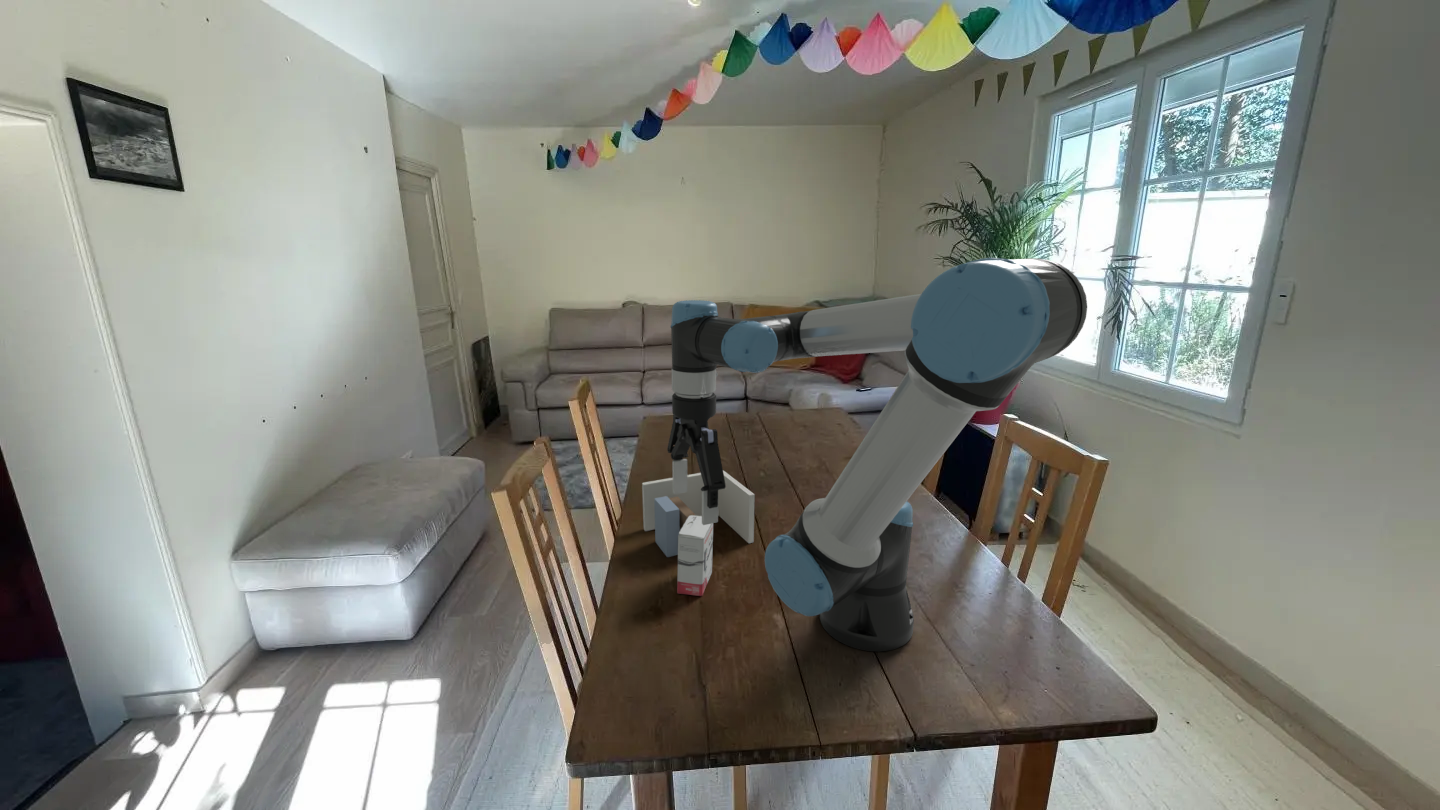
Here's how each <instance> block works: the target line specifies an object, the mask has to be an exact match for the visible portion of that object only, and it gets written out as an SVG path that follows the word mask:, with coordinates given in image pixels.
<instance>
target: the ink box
mask: <svg viewBox="0 0 1440 810" xmlns="http://www.w3.org/2000/svg"><path fill="white" fill-rule="evenodd" d="M713 542H714V523H712V524H707V525H703V524H702V516H696V515H690V516H688V518H687V520H686V522H685V523H684V525H683V527H682V528H681V530H680V531H679V535H678V555H677V578H676V579H677V580H676V581H677V584H676V585H677V589H676V591H677V592H676V593H677V594H678V595H679V594H681V595H690V596H696V597H697V596H698V597H703V595H704V593H705V589H706V587H707V585H708V583H709V580H710V578H711V575H712V573H713V547H714V546H713V544H714V543H713Z"/></svg>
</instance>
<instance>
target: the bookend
mask: <svg viewBox="0 0 1440 810" xmlns="http://www.w3.org/2000/svg"><path fill="white" fill-rule="evenodd" d="M669 499H670V500H671V501H672V502H673V503H674V504H675V505H676V506H677V507H678V508H679V521H680V530H681V528H682V527H683V525H684V523H685V522H686V520H687V518H688V516H690V515H695V513H694V512H693V511H692V510H691V509H690V508H689V507H688V506H687V505H686V504H685V503H684V502H683V501H682V500H681V499H680V498H679V497H678V496H677V497H672V498H669Z"/></svg>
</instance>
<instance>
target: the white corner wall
mask: <svg viewBox="0 0 1440 810" xmlns="http://www.w3.org/2000/svg"><path fill="white" fill-rule="evenodd" d="M723 474H724V479H725V485H726V487H725V489H720V490H718V517H720V518H721V520H723V521H724V522H725V523H726V524H727V525H728V526H729V527H730V528H732V530H733V531H735V532H736V533H737V534H738V535H739V536H740V537H741V538H742V539H743V540H744V541H745V542H746V543H748V544H751V543H752V544H753V543H754V541H755V540H754V539H755V537H754V536H755V499H756V498H755V495H756V494H755V493H753V492H752V491H751V490H750V489H748V488H747V487H746V486H745V485H743V484H742V483H741V482H739V481H738V480H737V479H736V478H734V477H733V476H731V475H730V474H729V473H728V472H726V471H725V470H723ZM641 485H642V486H641V489H642V490H641V492H642V517H643V519H642V521H643V522H642V523H643V530H644V532H649V531H653V530H655V531H654V534H655V535H654V536H655V537H654V539H655V543H656V545H657V546H658V547H659V549H660V550H661V551H662V552H663V554H664V556H666V558H670V557H674V556H678V535H679V531H680V521H679V508H678V507H677V506H676V505H675V504H674V503H673V502H672V501H671V500H670V499H669V498H672V497H677V496H678V497H679V498H680V499H681V500H682V501H683V502H684V503H685V504H686V505H687V506H688V507H689V508H690V509H691V510H692V511H693V512H694V513H695V515H696V516H702V491H701V488H702V487H704V483H703V480H702V476H701V472H697V473H692V474H687V492H684V493H679V494H673V477H668V478H663V479H657V480H650V481H645V482H642V483H641Z"/></svg>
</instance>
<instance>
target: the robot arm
mask: <svg viewBox="0 0 1440 810" xmlns="http://www.w3.org/2000/svg"><path fill="white" fill-rule="evenodd" d="M1087 314H1088V301H1087V295H1086V293H1085V289H1084V286H1083V285H1082V283H1081V282H1080V280H1079V279H1078V277H1077V276H1076V275H1075V274H1074V273H1073V272H1072V271H1071V270H1070V269H1068V268H1067V267H1065V266H1064V265H1062V264H1060V263H1057V262H1055V261H1053V260H1050V259H1046V258H1045V259H1044V258H1035V257H1032V258H1030V257H1028V258H1015V259H1014V258H1013V259H1008V258H1002V257H985V258H983V257H982V258H979V259H974V260H970V261H967V262H965V263H961V264H958V265H955V266H952V267H951V268H949V269H947V270H945V271H943V272H942V273H940V274H939V275H937V276H936V277H935V278H934V279H932V280H931V282H930V283H929V284H928V285H927V286H926V287H925V288H924V289H923V291H922V293H920V294H919V293H918V294H912V295H911V294H910V295H906V296H905V295H904V296H898V297H892V298H885V299H878V300H870V301H866V302H865V301H864V302H859V303H858V302H857V303H852V304H851V303H850V304H846V305H845V304H844V305H837V306H832V307H826V308H818V309H812V310H807V311H805V310H804V311H798V312H791V313H782V314H777V315H766V316H757V317H749V318H748V317H747V318H729V317H721V316H719V313H718V305H717V303H715V302H714V301H710V300H704V299H703V300H701V299H699V300H697V299H696V300H695V299H694V300H693V299H691V300H690V299H687V300H679V301H676V302H675V303H674V304H673V305H672V309H671V324H670V333H671V334H670V335H671V336H670V337H671V365H672V366H671V390H672V392H673V394H672V395H671V401H672V402H671V403H672V404H671V408H672V409H671V410H672V411H671V412H672V418H673V419H672V424H671V430H670V435H669V439H668V445H667V449H666V451H667V453H668V454H670V457H671V460H672V467H671V468H672V478H673V494H679V493H684V492H687V475H688V459H687V458H689V454H688V451H689V449H691V452H692V454H694V455H695V458H696V460H697V461H696V462H697V464H698V467H699V473H701V476H702V480H703V483H704V487H702V488H701V491H702V524H703V525H707V524H712V523H713V524H714V523H715V524H716V523H718V522H719V516H718V490H720V489H725V487H726V485H725V479H724V474H723V464H722V458H721V454H720V448H719V440H718V437H719V436H718V430H717V429H716V428H714V429H710V428H709V427H710V426H709V422H708V421H709V420H710V418H712V417H713V418H714V416H715V415H716V414H717V395H716V393H715V392H716V391H717V377H719V373H718V372H717V367H718V366H721V367H725V368H728V369H733V370H735V371H738V372H740V373H741V372H742V373H746V372H747V373H755V374H758V373H763V372H764V371H766V370H767V369H768V367H770V366H772V364H773V363H777V362H779V361H785V360H794V359H805V358H806V359H807V358H815V357H825V356H826V357H827V356H828V357H829V356H842V355H856V354H857V355H858V354H869V353H870V354H873V353H887V352H899V351H900V352H903V351H904V358H905V361H906V365H907V368H908V370H907V372H906V373H905V375H904V377H903V378H902V379H901V381H900V383H899V384H898V385H897V387H896V388H895V390H894V392H893V393H892V395H891V396H890V398H889V399H888V401H887V403H886V404H885V406H884V408H883V409H882V410H881V412H880V413H879V415H878V416H877V418H876V419H875V420H874V423H873V424H872V425H871V427H870V429H869V430H868V431H867V433H866V435H865V436H864V437H863V440H862V441H861V443H860V444H859V445H858V447H857V448H856V450H855V451H854V453H853V455H852V457H851V458H850V459H849V461H848V462H847V464H846V465H845V467H844V469H843V470H842V472H841V473H840V475H839V477H838V478H837V480H835V482H834V484H833V485H832V487H831V489H830V490H829V492H828V494H826V496H825V497H822V498H818V499H814V500H812V501H811V502H809V504H808V505H806V507H805V508H804V510H803V511H802V513H800V516H799V517H798V519H797V521H796V522H795V523H794V525H793V527H792V528H791V529H790V530H789V531H787V532H786V533H784V534H779V535H777V536H776V537H775V539H773V540H772V541H770V542H769V544H768V545H767V547H766V549H765V553H764V566H765V572H766V574H767V578H768V581H769V583H770V586H771V587H772V589H773V590H774V592H775V593H776V595H777V596H778V597H779V599H780V600H781V601H782V602H783V603H784V604H785V605H786V607H788V608H789V609H791V610H792V611H793V612H795V613H796V614H801V615H803V616H805V617H815V616H818V615H819V619H820V623H821V626H822V628H823V629H824V630H825V632H826V633H827V634H829V636H831V637H832V638H833V639H834V640H836V641H837V642H839V643H841V644H844V645H845V646H848V647H851V648H853V649H857V650H861V651H867V652H887V651H892V650H896V649H899V648H901V647H903V646H905V645H906V644H907V643H908V642H910V641H911V638H912V636H913V632H914V624H915V617H914V613H913V610H912V605H911V600H910V597H909V593H908V590H907V579H908V571H909V559H910V549H911V542H912V532H913V527H914V522H913V506H912V504H911V503H910V502H909V501H908V500H909V499H910V498H911V496H912V495H913V494H914V493H915V491H916V490H917V488H918V487H919V486H920V484H921V483H922V482H923V481H924V479H925V478H926V477H927V476H928V475H929V473H930V471H932V469H933V468H934V466H935V465H936V464H937V462H938V461H939V460H940V459H941V458H942V456H943V455H944V453H945V452H946V451H947V450H948V449H949V447H950V446H951V445H952V444H953V442H954V441H955V439H956V438H957V437H958V435H960V433H961V432H962V430H963V429H964V428H965V426H966V425H967V424H968V423H969V422H970V421H971V419H972V418H973V416H974V415H975V414H976V412H982V411H992V410H996V409H997V408H998V407H1000V406H1001V404H1002V403H1003V402H1004V401H1005V399H1007V397H1009V395H1010V393H1011V392H1012V391H1013V390H1014V389H1015V387H1016V386H1017V385H1018V384H1019V382H1020V381H1021V380H1022V378H1023V377H1024V376H1025V375H1026V374H1027V372H1028V371H1029V370H1030V369H1031V368H1032V366H1034V364H1037V363H1039V362H1042V361H1045V360H1048V359H1049V358H1053V357H1054V356H1057V355H1059V354H1060V353H1061V352H1062V351H1065V350H1066V349H1067V348H1068V347H1069V346H1070V345H1071V344H1072V343H1073V342H1074V341H1075V340H1076V339H1077V337H1078V336H1079V334H1080V332H1081V331H1082V329H1083V327H1084V324H1085V321H1086V319H1087Z"/></svg>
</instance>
